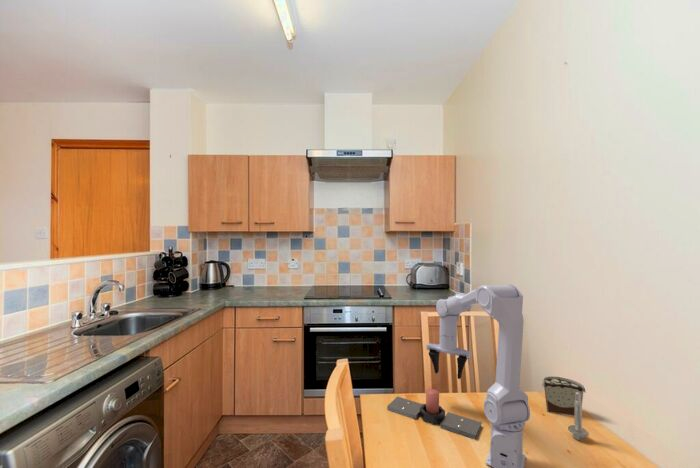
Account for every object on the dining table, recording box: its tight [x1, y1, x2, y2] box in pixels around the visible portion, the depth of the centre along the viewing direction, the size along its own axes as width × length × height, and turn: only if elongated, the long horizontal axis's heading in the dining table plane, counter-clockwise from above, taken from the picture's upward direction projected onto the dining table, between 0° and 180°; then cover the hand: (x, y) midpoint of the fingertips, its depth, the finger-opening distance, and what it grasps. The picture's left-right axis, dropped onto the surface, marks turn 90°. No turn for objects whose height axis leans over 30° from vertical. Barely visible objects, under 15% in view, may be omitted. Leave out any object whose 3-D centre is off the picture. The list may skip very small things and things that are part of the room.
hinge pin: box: [425, 388, 440, 415], centre depth 98 cm, size 4×4×8 cm
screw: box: [567, 392, 590, 442], centre depth 89 cm, size 13×5×5 cm
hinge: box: [386, 396, 482, 440], centre depth 98 cm, size 8×28×2 cm, turn 57°
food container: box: [541, 376, 586, 417], centre depth 104 cm, size 12×6×10 cm, turn 74°
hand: (447, 375), depth 105 cm, fingers open, 7 cm apart
